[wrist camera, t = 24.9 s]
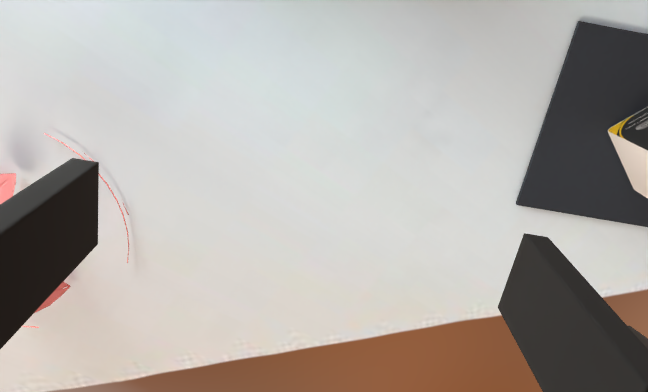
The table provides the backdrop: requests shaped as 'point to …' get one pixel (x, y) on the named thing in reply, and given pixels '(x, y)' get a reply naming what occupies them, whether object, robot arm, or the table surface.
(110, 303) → the table surface
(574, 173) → the mat
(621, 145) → the medicine bottle
